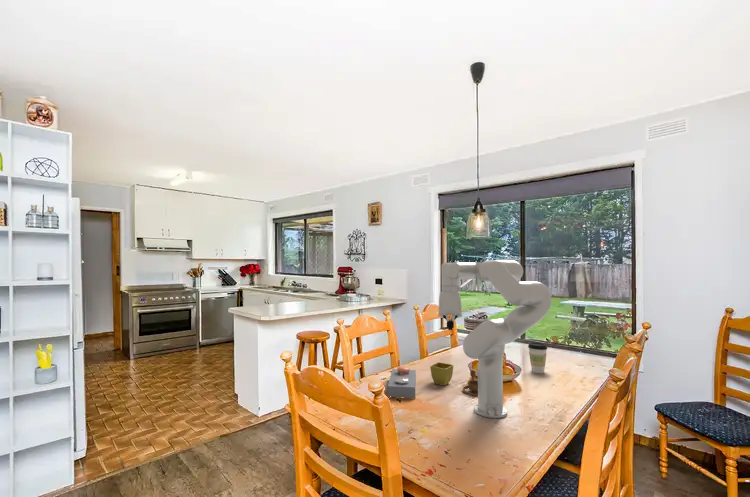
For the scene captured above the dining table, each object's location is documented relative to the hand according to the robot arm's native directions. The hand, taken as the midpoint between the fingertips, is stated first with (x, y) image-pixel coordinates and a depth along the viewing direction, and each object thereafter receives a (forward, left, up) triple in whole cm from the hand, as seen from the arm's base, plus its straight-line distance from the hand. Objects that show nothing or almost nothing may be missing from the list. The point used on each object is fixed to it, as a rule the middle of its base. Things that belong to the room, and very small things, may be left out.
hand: (450, 329), depth 162 cm
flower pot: (+14, +3, -29) cm, 33 cm away
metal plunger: (-2, +22, -29) cm, 36 cm away
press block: (+5, +22, -29) cm, 37 cm away
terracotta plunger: (+12, +22, -28) cm, 38 cm away
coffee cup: (+41, -51, -29) cm, 72 cm away
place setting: (+8, -14, -30) cm, 34 cm away
